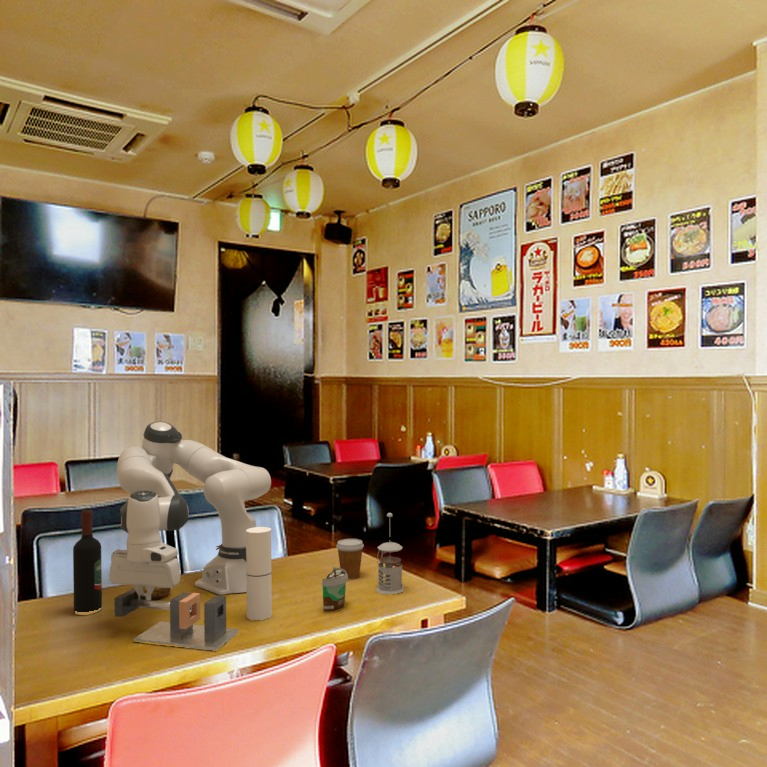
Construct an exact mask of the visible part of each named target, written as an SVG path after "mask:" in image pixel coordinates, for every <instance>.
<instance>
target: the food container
mask: <svg viewBox="0 0 767 767" xmlns="http://www.w3.org/2000/svg"><path fill="white" fill-rule="evenodd" d="M321 579H322V580H321V587H322V604H323V605H322V606H323V612H324V613H325V611H326V612H327V613H328V612H336V610H337V611H339V609H340V610H342V609H343V608H344V607H345V606H344V605H345V604H346V587H347V586H346V585H347V582H348V581H349V579H348V575H347V573H346V571H345V570H344V569H341V568H340V567H332V571H331V572H329V574H328V575H327V576H326V577H325V578H321ZM341 608H342V609H341Z"/></svg>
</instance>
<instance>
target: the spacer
mask: <svg viewBox="0 0 767 767" xmlns="http://www.w3.org/2000/svg"><path fill="white" fill-rule="evenodd" d="M192 605H193V606H194V608H193V611H192V612H190V606H192ZM200 620H201V593H198V592H193V593H192V594H191V595H189V596H188V597H186V598H184V599H183V600H181V601H179V628H180V629H187V628H189V627H190V626H191V625H195V623H197V622H198V621H200Z"/></svg>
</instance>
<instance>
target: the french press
mask: <svg viewBox="0 0 767 767" xmlns="http://www.w3.org/2000/svg"><path fill="white" fill-rule="evenodd" d="M386 517H388V518H389V521H388V522H389V523H388V524H389V534H388V536H391V518H393V513H391V512H388V513H387V514H386ZM377 549H378V552H377V565H378V567H377V568H378V570H377V571H378V574H377V575H378V578H377V579H378V586H377V587H376V588H375V590H376V591H377V592H376V593H378V592H379V593H378V594H380V593H382V594H381V595H385V594H395V595H397V594H396V593H400V592H402V591H404V588H405V587H404V586H403V563H401V561H402V559H401V558H399V557H395V556H384V557H383V555H384V554H386V553H395V552H400V551H402V549H403V546H402V545H400V544H399V543H397V542H393V541H389V542H383V543H381V544H380V545H379V546H377ZM380 551H381V558H379V553H380ZM394 566H395V567H394ZM404 592H405V591H404ZM400 594H401V593H400Z"/></svg>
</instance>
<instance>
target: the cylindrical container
mask: <svg viewBox="0 0 767 767" xmlns="http://www.w3.org/2000/svg"><path fill="white" fill-rule="evenodd" d="M272 578H273V577H272V528H271V527H266V526H256V527H254V528H249V529H247V530H246V579H247V592H246V618H247V620H249V619H250V620H249V621H254V620H260V621H264V619H265V620H268V619H270V618H271V617H272V616H273V599H272V597H273V595H272V593H273V591H272V590H273V589H272V582H273V580H272ZM267 618H268V619H267Z"/></svg>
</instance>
